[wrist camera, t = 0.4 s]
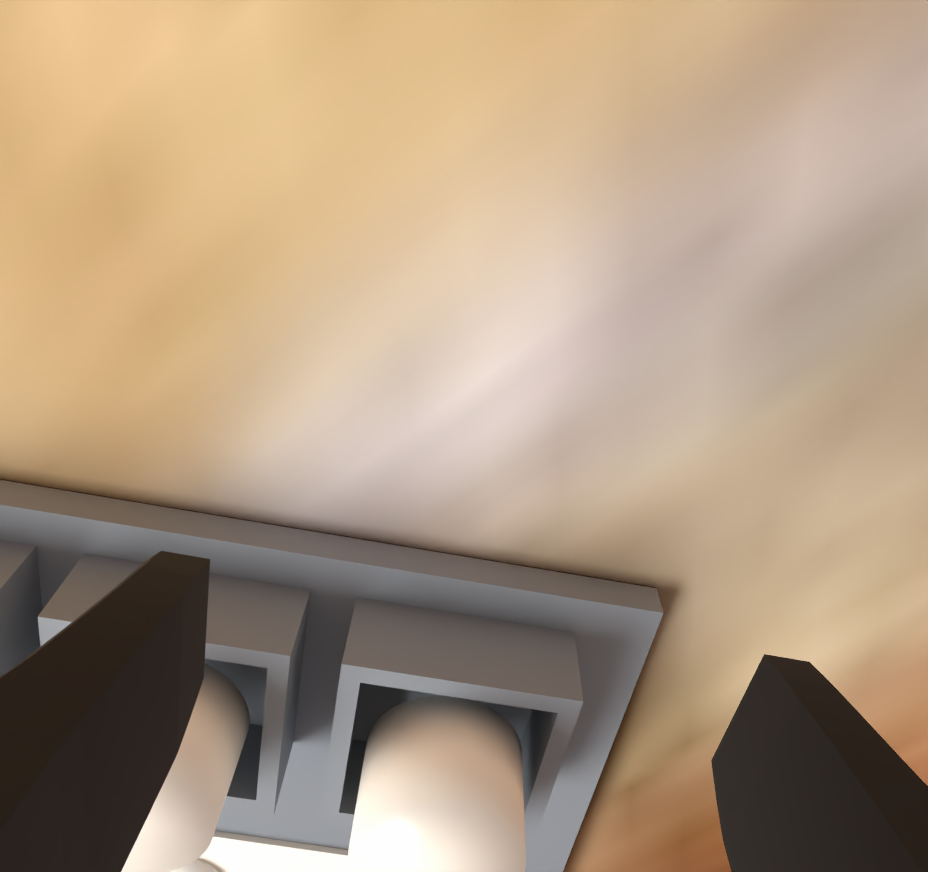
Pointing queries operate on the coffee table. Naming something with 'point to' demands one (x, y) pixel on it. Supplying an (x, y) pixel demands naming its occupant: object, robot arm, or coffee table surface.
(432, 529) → the coffee table surface
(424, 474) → the coffee table surface
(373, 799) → the button
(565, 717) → the console
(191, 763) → the button middle
